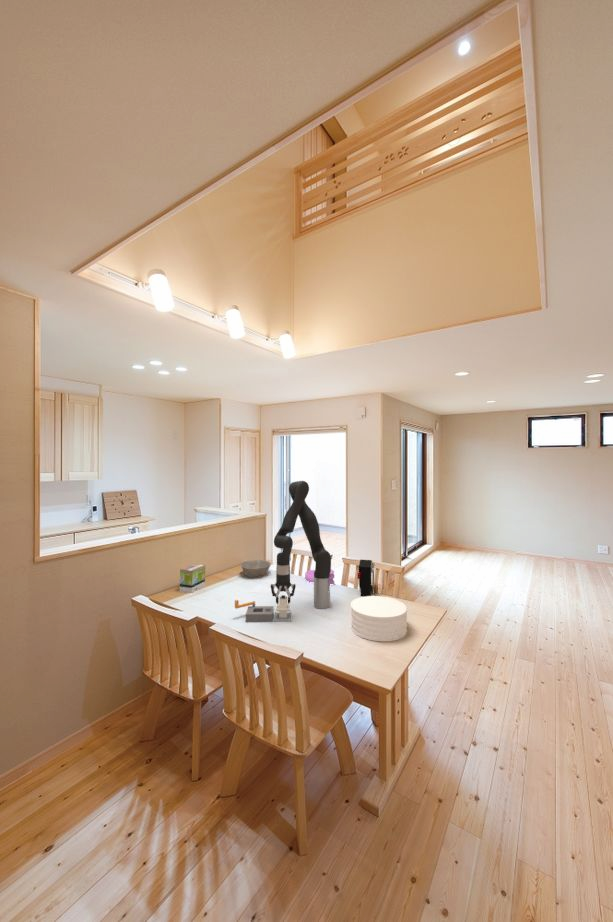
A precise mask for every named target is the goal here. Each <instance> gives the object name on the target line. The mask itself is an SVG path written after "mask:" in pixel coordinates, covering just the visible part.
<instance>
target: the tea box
mask: <svg viewBox="0 0 613 922" xmlns="http://www.w3.org/2000/svg"><path fill="white" fill-rule="evenodd" d="M179 569H180V571H179V592H180V593H181V592H182V593H189V594H192V593H194V592H196V591H198V590H200V589H201V588H203V587H205V585H206V564H199V563H192V564H190V565H188V566H184V567H183V568H179Z"/></svg>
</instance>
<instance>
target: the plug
mask: <svg viewBox="0 0 613 922" xmlns="http://www.w3.org/2000/svg"><path fill="white" fill-rule="evenodd" d="M290 608H291V604H290V603H289V604H288V595H286V596H285V595H281V596H279V603H278V604H277V605H276V610H275V611H276V612H279V618H287V612H290Z"/></svg>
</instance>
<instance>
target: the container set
mask: <svg viewBox="0 0 613 922" xmlns="http://www.w3.org/2000/svg"><path fill="white" fill-rule="evenodd" d="M314 571H315V569H312V570H307V571H305V573H304V575H305V577H304V579H306V580H307V581H309V582H308V583H310V582H314ZM334 573H335V571H334V570H333V569H332V568H331V572H330V584H334V585H335V583H336V582H335V580H334V579H335V574H334ZM306 580H305V581H306ZM307 581H306V582H307Z"/></svg>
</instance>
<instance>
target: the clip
mask: <svg viewBox="0 0 613 922" xmlns="http://www.w3.org/2000/svg"><path fill="white" fill-rule="evenodd" d="M248 606H256V601H255V600H253V601H249V602H244V603H241V604H239V599H235V600H234V608H235V609H241V608H245V607H248Z"/></svg>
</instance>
